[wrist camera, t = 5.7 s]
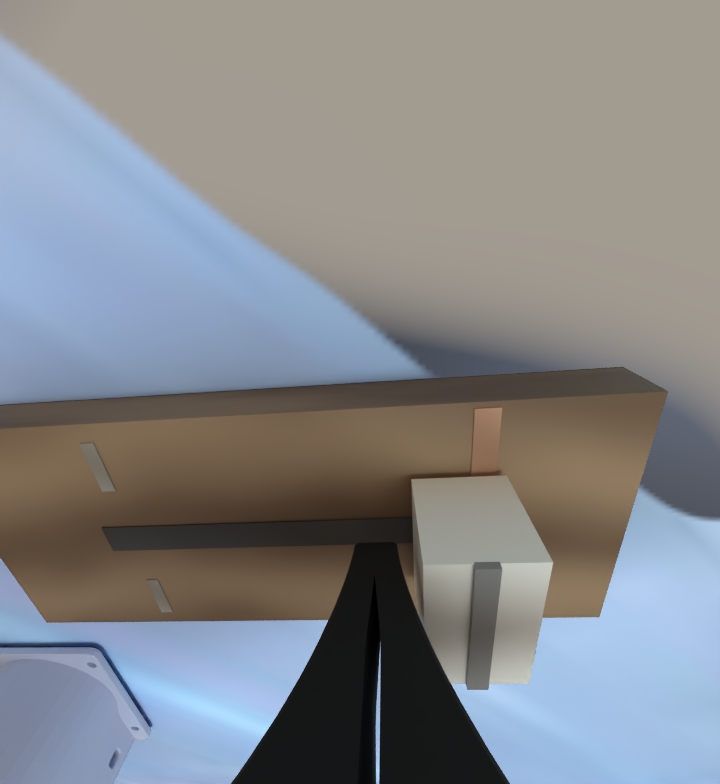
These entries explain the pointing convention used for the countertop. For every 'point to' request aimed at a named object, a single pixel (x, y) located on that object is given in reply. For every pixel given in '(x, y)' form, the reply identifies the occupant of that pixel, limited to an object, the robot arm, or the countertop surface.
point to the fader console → (305, 488)
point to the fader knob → (478, 578)
